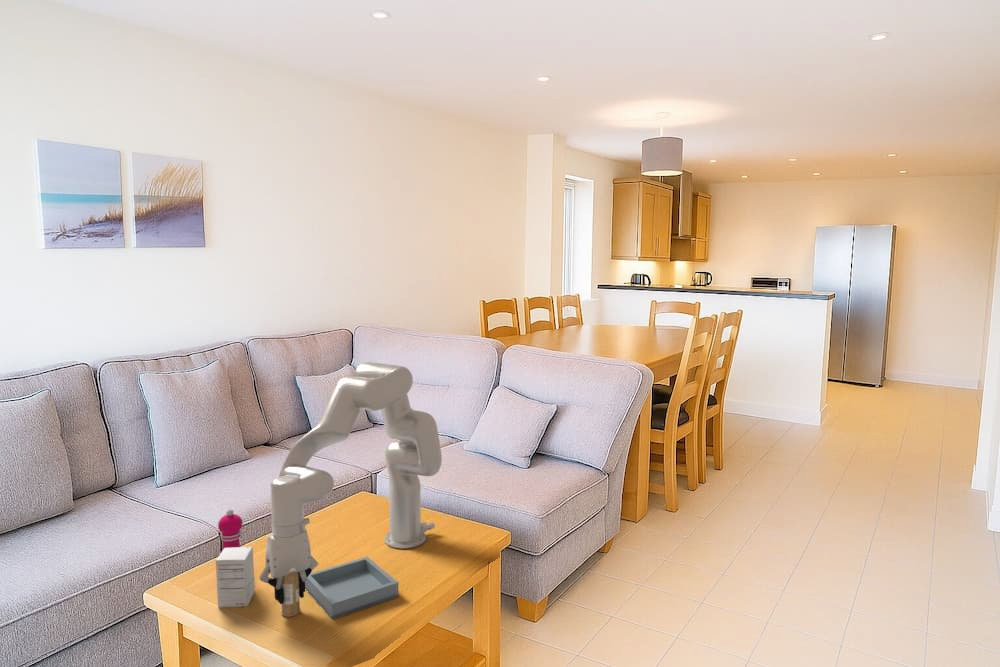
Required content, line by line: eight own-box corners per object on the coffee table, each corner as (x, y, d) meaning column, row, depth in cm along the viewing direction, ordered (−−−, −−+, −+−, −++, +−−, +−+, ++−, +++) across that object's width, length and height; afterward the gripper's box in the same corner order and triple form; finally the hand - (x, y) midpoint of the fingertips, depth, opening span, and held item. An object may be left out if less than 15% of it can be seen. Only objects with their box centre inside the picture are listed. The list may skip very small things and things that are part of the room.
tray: (367, 570, 186) (367, 556, 186) (398, 597, 172) (398, 582, 172) (304, 589, 176) (304, 574, 175) (332, 619, 161) (331, 604, 161)
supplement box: (226, 593, 173) (224, 546, 172) (255, 592, 174) (253, 546, 172) (216, 608, 166) (214, 560, 164) (247, 607, 167) (245, 559, 165)
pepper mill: (252, 576, 182) (250, 506, 180) (234, 589, 175) (231, 516, 173) (231, 572, 184) (228, 502, 182) (212, 584, 178) (208, 512, 175)
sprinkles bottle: (304, 611, 165) (302, 559, 163) (288, 619, 161) (287, 567, 159) (292, 605, 167) (290, 554, 166) (277, 613, 164) (275, 561, 162)
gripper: (315, 514, 170) (317, 582, 172) (247, 530, 159) (250, 602, 162) (327, 524, 164) (328, 594, 166) (257, 541, 154) (260, 616, 156)
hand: (290, 597), depth 164 cm, fingers closed on sprinkles bottle, 4 cm apart
